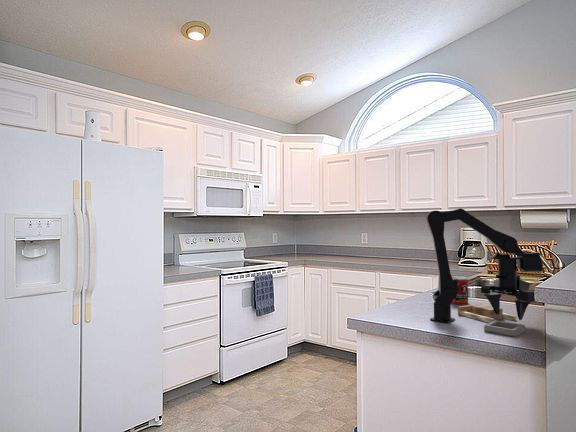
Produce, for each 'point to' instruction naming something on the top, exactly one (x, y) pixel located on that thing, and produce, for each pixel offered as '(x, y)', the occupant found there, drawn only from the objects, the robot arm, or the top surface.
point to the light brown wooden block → (487, 311)
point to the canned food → (461, 290)
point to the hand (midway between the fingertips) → (508, 317)
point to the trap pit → (504, 328)
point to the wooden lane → (468, 312)
